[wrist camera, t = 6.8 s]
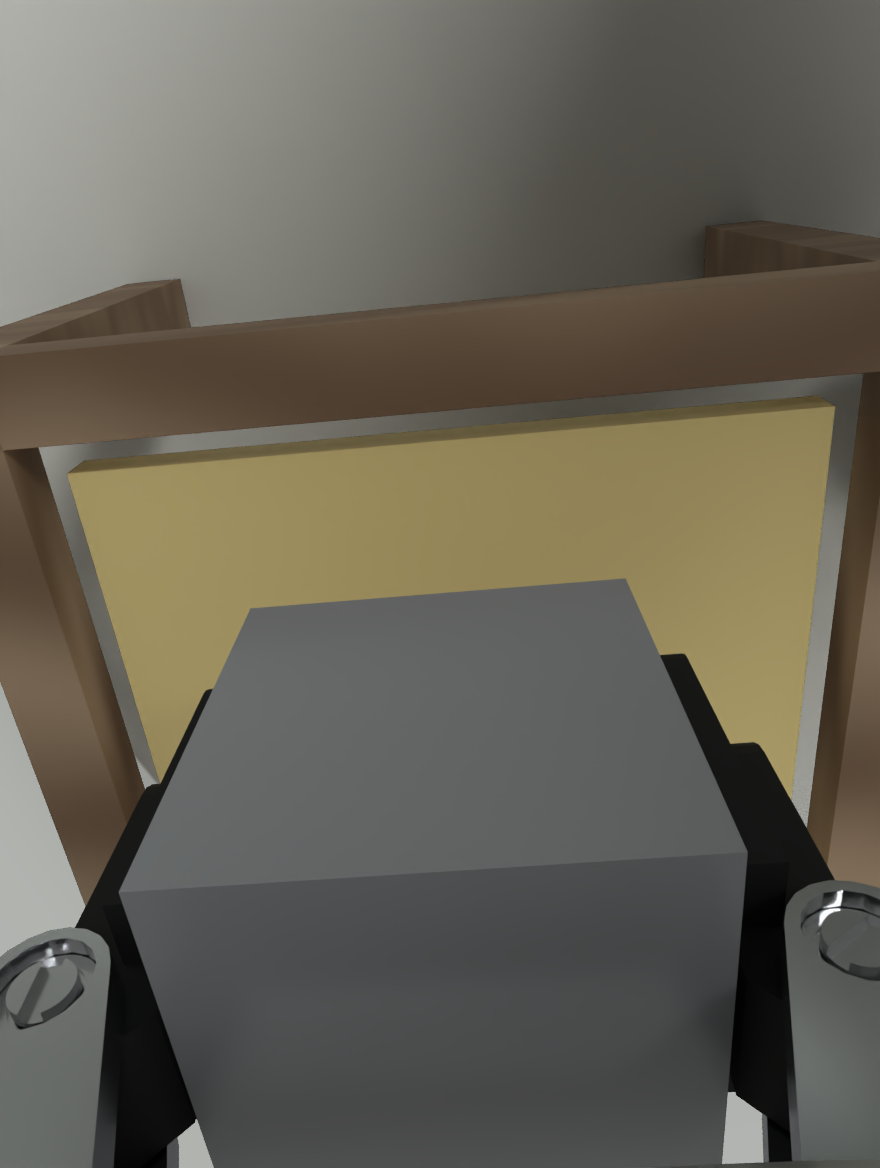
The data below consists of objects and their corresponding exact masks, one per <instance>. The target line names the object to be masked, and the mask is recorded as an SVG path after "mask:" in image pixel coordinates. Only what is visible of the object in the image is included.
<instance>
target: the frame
mask: <svg viewBox="0 0 880 1168" xmlns="http://www.w3.org/2000/svg"><path fill="white" fill-rule="evenodd" d="M858 373H864V374H863V382H862V390H861V398H860V406H859V414H858V422H857V430H856V438H855V446H854V454H853V462H852V470H851V478H850V486H849V494H848V502H847V510H846V518H845V526H844V534H843V542H842V550H841V558H840V566H839V574H838V582H837V590H836V599H835V607H834V615H833V623H832V631H831V639H830V647H829V655H828V663H827V671H826V679H825V687H824V695H823V703H822V711H821V719H820V727H819V735H818V743H817V751H816V759H815V767H814V775H813V783H812V791H811V799H810V807H809V815H808V823H807V830H808V832H809V834H810V835H811V837H812V839H813V841H814V843H815V844H816V846H817V848H818V850H819V852H820V853H821V855H822V857H823V859H824V861H825V862H826V864H827V866H828V868H829V870H830V872H831V873H832V875H833V877H834V879H835V880H840V881H854V882H858V883H863V884H867V885H871V886H875V887H877V888H879V889H880V238H876V237H870V236H863V235H856V234H850V233H843V232H836V231H829V230H823V229H816V228H809V227H803V226H796V225H789V224H782V223H776V222H769V221H754V222H744V223H734V224H724V225H714V226H706V244H705V268H704V278H699V279H689V280H679V281H668V282H658V283H648V284H637V285H627V286H617V287H606V288H596V289H586V290H575V291H565V292H555V293H544V294H534V295H524V296H513V297H503V298H493V299H482V300H472V301H462V302H451V303H441V304H431V305H420V306H410V307H400V308H389V309H379V310H369V311H358V312H348V313H338V314H327V315H317V316H307V317H297V318H286V319H276V320H266V321H255V322H245V323H235V324H224V325H214V326H204V327H193V328H191V327H190V322H189V318H188V313H187V309H186V304H185V299H184V295H183V290H182V286H181V281H180V279H174V280H164V281H154V282H144V283H134V284H126V285H123V286H120V287H117V288H115V289H112V290H109V291H106V292H103V293H100V294H97V295H94V296H91V297H88V298H85V299H82V300H79V301H76V302H73V303H70V304H67V305H64V306H61V307H58V308H55V309H52V310H49V311H46V312H43V313H41V314H38V315H35V316H32V317H29V318H26V319H23V320H20V321H17V322H14V323H11V324H8V325H5V326H2V327H0V682H1V685H2V687H3V690H4V693H5V695H6V698H7V700H8V703H9V706H10V708H11V711H12V714H13V716H14V719H15V722H16V724H17V727H18V729H19V732H20V735H21V737H22V740H23V743H24V745H25V748H26V751H27V753H28V756H29V759H30V761H31V764H32V766H33V769H34V772H35V774H36V777H37V780H38V782H39V785H40V787H41V790H42V793H43V795H44V798H45V800H46V803H47V806H48V808H49V811H50V814H51V816H52V819H53V822H54V824H55V827H56V830H57V832H58V834H59V837H60V840H61V843H62V845H63V848H64V850H65V853H66V856H67V859H68V861H69V864H70V866H71V869H72V871H73V874H74V877H75V880H76V882H77V885H78V887H79V890H80V893H81V895H82V898H83V900H84V903H85V906H86V905H87V903H88V901H89V899H90V897H91V895H92V893H93V891H94V889H95V887H96V885H97V883H98V881H99V879H100V877H101V875H102V873H103V871H104V869H105V867H106V865H107V863H108V861H109V859H110V857H111V855H112V853H113V851H114V849H115V847H116V845H117V843H118V841H119V839H120V837H121V835H122V833H123V831H124V829H125V827H126V825H127V823H128V821H129V819H130V817H131V815H132V813H133V811H134V809H135V807H136V805H137V803H138V801H139V799H140V797H141V795H142V794H143V792H144V791H145V788H144V785H143V782H142V779H141V775H140V772H139V769H138V766H137V762H136V759H135V756H134V753H133V750H132V746H131V743H130V740H129V737H128V734H127V730H126V727H125V724H124V721H123V718H122V714H121V711H120V708H119V705H118V702H117V698H116V695H115V692H114V689H113V686H112V682H111V679H110V676H109V673H108V670H107V666H106V663H105V660H104V657H103V654H102V650H101V647H100V644H99V641H98V638H97V634H96V631H95V628H94V625H93V622H92V618H91V615H90V612H89V609H88V606H87V602H86V599H85V596H84V593H83V589H82V586H81V583H80V580H79V577H78V573H77V570H76V567H75V564H74V561H73V557H72V554H71V551H70V548H69V545H68V541H67V538H66V535H65V532H64V529H63V525H62V522H61V519H60V516H59V513H58V509H57V506H56V503H55V500H54V497H53V493H52V490H51V487H50V484H49V481H48V477H47V474H46V471H45V468H44V465H43V461H42V458H41V455H40V452H39V449H38V447H47V446H58V445H70V444H81V443H92V442H103V441H114V440H125V439H136V438H147V437H158V436H170V435H181V434H192V433H203V432H214V431H225V430H236V429H247V428H258V427H270V426H281V425H292V424H303V423H314V422H325V421H336V420H347V419H358V418H370V417H381V416H392V415H403V414H414V413H425V412H436V411H447V410H458V409H470V408H481V407H492V406H503V405H514V404H525V403H536V402H547V401H558V400H570V399H581V398H592V397H603V396H614V395H625V394H636V393H647V392H658V391H670V390H681V389H692V388H703V387H714V386H725V385H736V384H747V383H758V382H769V381H781V380H792V379H803V378H814V377H825V376H836V375H847V374H858Z"/></svg>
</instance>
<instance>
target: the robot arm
mask: <svg viewBox="0 0 880 1168" xmlns="http://www.w3.org/2000/svg"><path fill="white" fill-rule="evenodd" d="M660 657H661V659H662V661H663V663H664V666H665V668H666V670H667V672H668V675H669V677H670V679H671V681H672V684H673V686H674V688H675V690H676V693H677V695H678V697H679V699H680V702H681V704H682V706H683V708H684V711H685V713H686V715H687V717H688V719H689V722H690V724H691V726H692V728H693V731H694V733H695V735H696V737H697V740H698V742H699V744H700V746H701V749H702V751H703V753H704V755H705V758H706V760H707V762H708V764H709V767H710V769H711V771H712V773H713V775H714V778H715V780H716V782H717V784H718V787H719V789H720V791H721V793H722V796H723V798H724V800H725V802H726V805H727V807H728V809H729V811H730V814H731V816H732V818H733V820H734V823H735V825H736V827H737V829H738V831H739V834H740V836H741V838H742V840H743V843H744V845H745V847H746V849H747V852H748V855H747V867H746V879H745V891H744V903H743V915H742V927H741V939H740V951H739V963H738V975H737V987H736V999H735V1011H734V1023H733V1035H732V1047H731V1059H730V1071H729V1083H728V1092H736V1095H737V1096H738V1097H740V1098H741V1099H743V1100H744V1101H746V1102H747V1103H748V1104H750V1105H751V1106H752V1107H754V1108H755V1109H757V1110H758V1111H760V1112H761V1113H762V1114H763V1115H762V1125H763V1126H762V1128H763V1155H764V1163H742V1164H741V1163H740V1164H716V1165H691V1166H666V1167H642V1168H880V889H879V888H877V887H875V886H871V885H867V884H863V883H858V882H854V881H840V880H835V879H834V877H833V875H832V873H831V872H830V870H829V868H828V866H827V864H826V862H825V861H824V859H823V857H822V855H821V853H820V852H819V850H818V848H817V846H816V844H815V843H814V841H813V839H812V837H811V835H810V834H809V832H808V830H807V828H806V826H805V824H804V823H803V821H802V819H801V817H800V815H799V814H798V812H797V810H796V808H795V806H794V805H793V803H792V801H791V799H790V797H789V796H788V794H787V792H786V790H785V788H784V786H783V785H782V783H781V781H780V779H779V777H778V776H777V774H776V772H775V770H774V768H773V767H772V765H771V763H770V761H769V759H768V757H767V756H766V754H765V752H764V751H763V749H762V748H761V746H760V745H759V744H757V743H755V742H749V743H734V744H730V742H729V740H728V738H727V736H726V734H725V732H724V730H723V728H722V726H721V724H720V722H719V720H718V718H717V716H716V714H715V712H714V710H713V708H712V706H711V704H710V702H709V700H708V698H707V696H706V694H705V692H704V690H703V688H702V686H701V684H700V682H699V680H698V678H697V676H696V674H695V672H694V670H693V668H692V666H691V664H690V662H689V660H688V658H687V656H686V655H685V654H683V653H679V654H666V655H660ZM212 690H213V689H208V690H206V691H205V692H204V694H203V696H202V698H201V700H200V702H199V704H198V706H197V708H196V710H195V712H194V714H193V717H192V719H191V721H190V723H189V725H188V727H187V729H186V731H185V733H184V735H183V737H182V740H181V742H180V744H179V746H178V748H177V750H176V752H175V754H174V756H173V758H172V760H171V763H170V765H169V767H168V769H167V771H166V773H165V775H164V777H163V779H162V781H161V783H160V784H153V785H151V786H149V787H147V788H146V789H145V791H144V792H143V794H142V795H141V797H140V799H139V801H138V803H137V805H136V807H135V809H134V811H133V813H132V815H131V817H130V819H129V821H128V823H127V825H126V827H125V829H124V831H123V833H122V835H121V837H120V839H119V841H118V843H117V845H116V847H115V849H114V851H113V853H112V855H111V857H110V859H109V861H108V863H107V865H106V867H105V869H104V871H103V873H102V875H101V877H100V879H99V881H98V883H97V885H96V887H95V889H94V891H93V893H92V895H91V897H90V899H89V901H88V903H87V905H86V907H85V909H84V911H83V913H82V915H81V917H80V919H79V921H78V923H77V925H76V927H75V928H63V929H57V930H50V931H47V932H45V933H42V934H40V935H37V936H34V937H31V938H29V939H27V940H25V941H23V942H22V943H20V944H18V945H17V946H15V947H13V948H12V949H10V950H8V951H7V952H6V953H4V955H2V956H1V957H0V1168H179V1144H178V1139H177V1137H178V1136H179V1135H180V1134H182V1133H183V1132H184V1131H185V1130H186V1129H188V1128H189V1127H190V1126H191V1125H192V1124H193V1123H195V1119H197V1117H196V1114H195V1111H194V1109H193V1106H192V1103H191V1100H190V1097H189V1094H188V1091H187V1088H186V1085H185V1083H184V1080H183V1077H182V1074H181V1071H180V1068H179V1065H178V1062H177V1059H176V1057H175V1054H174V1051H173V1048H172V1045H171V1042H170V1039H169V1036H168V1034H167V1031H166V1028H165V1025H164V1022H163V1019H162V1016H161V1013H160V1010H159V1008H158V1005H157V1002H156V999H155V996H154V993H153V990H152V987H151V984H150V982H149V979H148V976H147V973H146V970H145V967H144V964H143V961H142V959H141V956H140V953H139V950H138V947H137V944H136V941H135V938H134V935H133V933H132V930H131V927H130V924H129V921H128V918H127V915H126V912H125V909H124V907H123V904H122V901H121V898H120V895H119V890H120V888H121V886H122V884H123V882H124V880H125V877H126V875H127V873H128V871H129V869H130V867H131V865H132V862H133V860H134V858H135V856H136V854H137V852H138V850H139V847H140V845H141V843H142V841H143V839H144V837H145V834H146V832H147V830H148V828H149V826H150V824H151V822H152V819H153V817H154V815H155V813H156V811H157V809H158V806H159V804H160V802H161V800H162V798H163V796H164V794H165V791H166V789H167V787H168V785H169V783H170V781H171V778H172V776H173V774H174V772H175V770H176V768H177V766H178V763H179V761H180V759H181V757H182V755H183V753H184V750H185V748H186V746H187V744H188V742H189V740H190V738H191V735H192V733H193V731H194V729H195V727H196V725H197V722H198V720H199V718H200V716H201V714H202V712H203V710H204V707H205V705H206V703H207V701H208V699H209V697H210V694H211V692H212Z"/></svg>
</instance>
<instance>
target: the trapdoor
mask: <svg viewBox="0 0 880 1168" xmlns="http://www.w3.org/2000/svg"><path fill="white" fill-rule="evenodd" d="M834 413H835V406H834V405H832V404H831V403H829V402H827V401H826V400H824V399H822V398H821V397H819V396H808V397H797V398H785V399H774V400H763V401H752V402H740V403H729V404H718V405H707V406H695V407H684V408H673V409H662V410H650V411H639V412H628V413H617V414H605V415H594V416H583V417H572V418H560V419H549V420H538V421H527V422H515V423H504V424H493V425H482V426H470V427H459V428H448V429H437V430H425V431H414V432H403V433H392V434H380V435H369V436H358V437H347V438H335V439H324V440H313V441H302V442H290V443H279V444H268V445H256V446H245V447H234V448H223V449H211V450H200V451H189V452H178V453H166V454H155V455H144V456H133V457H121V458H110V459H99V460H88V461H83V462H82V463H80V464H79V465H78V466H76V467H75V468H74V469H73V470H71V471H70V472H69V473H67V476H68V480H69V483H70V486H71V490H72V493H73V496H74V500H75V503H76V506H77V510H78V513H79V516H80V520H81V523H82V526H83V530H84V533H85V536H86V539H87V543H88V546H89V549H90V553H91V556H92V559H93V563H94V566H95V569H96V573H97V576H98V579H99V583H100V586H101V589H102V593H103V596H104V599H105V603H106V606H107V609H108V613H109V616H110V619H111V622H112V626H113V629H114V632H115V636H116V639H117V642H118V646H119V649H120V652H121V656H122V659H123V662H124V666H125V669H126V672H127V676H128V679H129V682H130V686H131V689H132V692H133V696H134V699H135V702H136V706H137V709H138V712H139V715H140V719H141V722H142V725H143V729H144V732H145V735H146V739H147V742H148V745H149V749H150V752H151V755H152V759H153V762H154V765H155V769H156V772H157V775H158V779H159V782H160V783H161V781H162V779H163V777H164V775H165V773H166V771H167V769H168V767H169V765H170V763H171V760H172V758H173V756H174V754H175V752H176V750H177V748H178V746H179V744H180V742H181V740H182V737H183V735H184V733H185V731H186V729H187V727H188V725H189V723H190V721H191V719H192V717H193V714H194V712H195V710H196V708H197V706H198V704H199V702H200V700H201V698H202V696H203V694H204V692H205V691H206V690H208V689H213V688H214V686H215V684H216V682H217V679H218V677H219V675H220V673H221V671H222V669H223V667H224V664H225V662H226V660H227V658H228V656H229V654H230V651H231V649H232V647H233V645H234V643H235V641H236V639H237V636H238V634H239V632H240V630H241V628H242V626H243V623H244V621H245V619H246V617H247V615H248V613H249V611H250V608H262V607H274V606H287V605H299V604H312V603H324V602H337V601H349V600H362V599H374V598H387V597H399V596H412V595H424V594H437V593H449V592H462V591H474V590H487V589H499V588H512V587H524V586H537V585H549V584H562V583H574V582H587V581H599V580H612V579H624V578H626V581H627V583H628V585H629V587H630V590H631V592H632V594H633V596H634V598H635V601H636V603H637V605H638V607H639V610H640V612H641V614H642V616H643V619H644V621H645V623H646V625H647V628H648V630H649V632H650V634H651V637H652V639H653V641H654V643H655V646H656V648H657V650H658V652H659V654H660V655H666V654H679V653H683V654H685V655H686V656H687V658H688V660H689V662H690V664H691V666H692V668H693V670H694V672H695V674H696V676H697V678H698V680H699V682H700V684H701V686H702V688H703V690H704V692H705V694H706V696H707V698H708V700H709V702H710V704H711V706H712V708H713V710H714V712H715V714H716V716H717V718H718V720H719V722H720V724H721V726H722V728H723V730H724V732H725V734H726V736H727V738H728V740H729V742H730V744H734V743H749V742H755V743H757V744H759V745H760V746H761V748H762V749H763V751H764V752H765V754H766V756H767V757H768V759H769V761H770V763H771V765H772V767H773V768H774V770H775V772H776V774H777V776H778V777H779V779H780V781H781V783H782V785H783V786H784V788H785V790H786V792H787V794H788V796H789V797H790V799H791V798H792V789H793V780H794V771H795V762H796V753H797V744H798V735H799V726H800V717H801V708H802V699H803V690H804V681H805V673H806V664H807V655H808V646H809V637H810V628H811V619H812V610H813V601H814V592H815V583H816V574H817V565H818V556H819V547H820V538H821V529H822V520H823V512H824V503H825V494H826V485H827V476H828V467H829V458H830V449H831V440H832V431H833V422H834Z"/></svg>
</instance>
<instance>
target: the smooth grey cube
mask: <svg viewBox="0 0 880 1168" xmlns="http://www.w3.org/2000/svg"><path fill="white" fill-rule="evenodd" d="M747 855H748V852H747V849H746V847H745V845H744V843H743V840H742V838H741V836H740V834H739V831H738V829H737V827H736V825H735V823H734V820H733V818H732V816H731V814H730V811H729V809H728V807H727V805H726V802H725V800H724V798H723V796H722V793H721V791H720V789H719V787H718V784H717V782H716V780H715V778H714V775H713V773H712V771H711V769H710V767H709V764H708V762H707V760H706V758H705V755H704V753H703V751H702V749H701V746H700V744H699V742H698V740H697V737H696V735H695V733H694V731H693V728H692V726H691V724H690V722H689V719H688V717H687V715H686V713H685V711H684V708H683V706H682V704H681V702H680V699H679V697H678V695H677V693H676V690H675V688H674V686H673V684H672V681H671V679H670V677H669V675H668V672H667V670H666V668H665V666H664V663H663V661H662V659H661V657H660V654H659V652H658V650H657V648H656V646H655V643H654V641H653V639H652V637H651V634H650V632H649V630H648V628H647V625H646V623H645V621H644V619H643V616H642V614H641V612H640V610H639V607H638V605H637V603H636V601H635V598H634V596H633V594H632V592H631V590H630V587H629V585H628V583H627V581H626V578H624V579H612V580H599V581H587V582H574V583H562V584H549V585H537V586H524V587H512V588H499V589H487V590H474V591H462V592H449V593H437V594H424V595H412V596H399V597H387V598H374V599H362V600H349V601H337V602H324V603H312V604H299V605H287V606H274V607H262V608H250V611H249V613H248V615H247V617H246V619H245V621H244V623H243V626H242V628H241V630H240V632H239V634H238V636H237V639H236V641H235V643H234V645H233V647H232V649H231V651H230V654H229V656H228V658H227V660H226V662H225V664H224V667H223V669H222V671H221V673H220V675H219V677H218V679H217V682H216V684H215V686H214V688H213V690H212V692H211V694H210V697H209V699H208V701H207V703H206V705H205V707H204V710H203V712H202V714H201V716H200V718H199V720H198V722H197V725H196V727H195V729H194V731H193V733H192V735H191V738H190V740H189V742H188V744H187V746H186V748H185V750H184V753H183V755H182V757H181V759H180V761H179V763H178V766H177V768H176V770H175V772H174V774H173V776H172V778H171V781H170V783H169V785H168V787H167V789H166V791H165V794H164V796H163V798H162V800H161V802H160V804H159V806H158V809H157V811H156V813H155V815H154V817H153V819H152V822H151V824H150V826H149V828H148V830H147V832H146V834H145V837H144V839H143V841H142V843H141V845H140V847H139V850H138V852H137V854H136V856H135V858H134V860H133V862H132V865H131V867H130V869H129V871H128V873H127V875H126V877H125V880H124V882H123V884H122V886H121V888H120V890H119V895H120V898H121V901H122V904H123V907H124V909H125V912H126V915H127V918H128V921H129V924H130V927H131V930H132V933H133V935H134V938H135V941H136V944H137V947H138V950H139V953H140V956H141V959H142V961H143V964H144V967H145V970H146V973H147V976H148V979H149V982H150V984H151V987H152V990H153V993H154V996H155V999H156V1002H157V1005H158V1008H159V1010H160V1013H161V1016H162V1019H163V1022H164V1025H165V1028H166V1031H167V1034H168V1036H169V1039H170V1042H171V1045H172V1048H173V1051H174V1054H175V1057H176V1059H177V1062H178V1065H179V1068H180V1071H181V1074H182V1077H183V1080H184V1083H185V1085H186V1088H187V1091H188V1094H189V1097H190V1100H191V1103H192V1106H193V1109H194V1111H195V1114H196V1117H197V1120H198V1123H199V1126H200V1129H201V1131H202V1134H203V1137H204V1140H205V1143H206V1146H207V1149H208V1151H209V1155H210V1158H211V1160H212V1163H213V1166H214V1168H642V1167H666V1166H691V1165H716V1164H722V1155H723V1143H724V1131H725V1117H726V1107H727V1095H728V1083H729V1071H730V1059H731V1047H732V1035H733V1023H734V1011H735V999H736V987H737V975H738V963H739V951H740V939H741V927H742V915H743V903H744V891H745V879H746V867H747Z"/></svg>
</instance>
